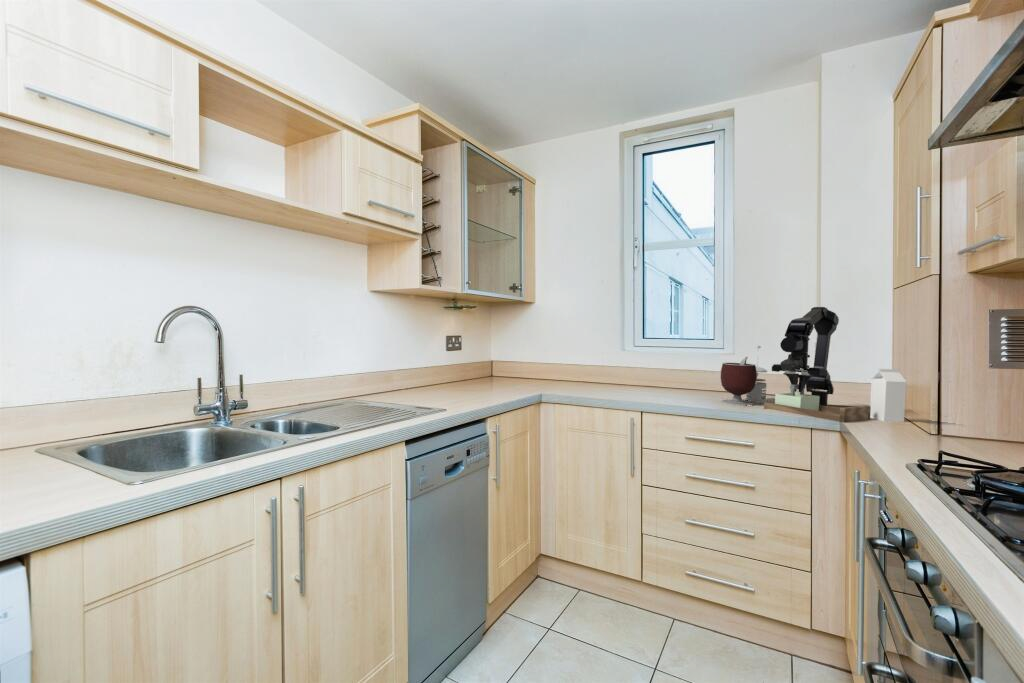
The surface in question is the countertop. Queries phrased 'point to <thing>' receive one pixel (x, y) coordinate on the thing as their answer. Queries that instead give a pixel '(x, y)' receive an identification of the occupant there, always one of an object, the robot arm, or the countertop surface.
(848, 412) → the bay
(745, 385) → the mate gourd
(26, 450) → the countertop surface
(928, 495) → the countertop surface
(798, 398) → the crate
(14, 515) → the countertop surface
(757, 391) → the french press
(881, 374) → the milk carton
